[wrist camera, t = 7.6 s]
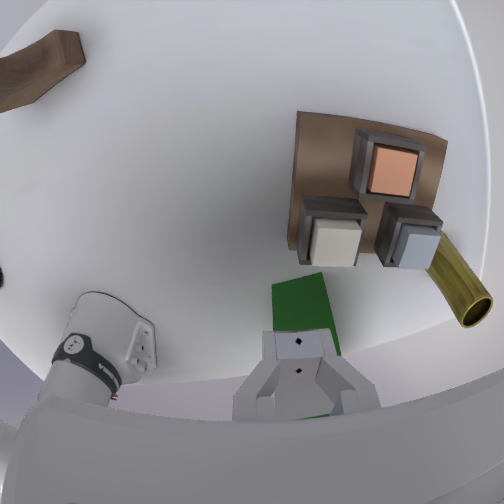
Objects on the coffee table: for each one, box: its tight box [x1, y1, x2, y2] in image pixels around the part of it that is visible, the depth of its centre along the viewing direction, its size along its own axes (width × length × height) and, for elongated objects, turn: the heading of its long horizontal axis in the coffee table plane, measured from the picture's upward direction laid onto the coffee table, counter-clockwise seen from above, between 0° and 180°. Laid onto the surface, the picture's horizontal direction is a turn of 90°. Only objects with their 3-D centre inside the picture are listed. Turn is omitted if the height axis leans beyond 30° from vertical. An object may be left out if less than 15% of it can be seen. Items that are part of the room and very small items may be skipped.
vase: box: [425, 231, 493, 328], centre depth 31 cm, size 6×6×14 cm
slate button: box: [391, 223, 441, 269], centre depth 28 cm, size 4×4×3 cm
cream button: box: [308, 216, 362, 267], centre depth 28 cm, size 4×4×3 cm
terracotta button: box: [367, 142, 418, 196], centre depth 25 cm, size 4×4×3 cm
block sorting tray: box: [287, 111, 448, 267], centre depth 29 cm, size 16×18×7 cm
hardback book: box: [272, 272, 341, 421], centre depth 35 cm, size 18×7×24 cm, turn 19°
